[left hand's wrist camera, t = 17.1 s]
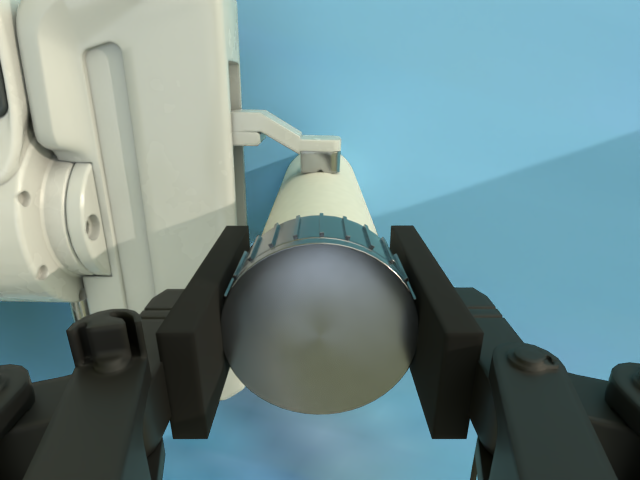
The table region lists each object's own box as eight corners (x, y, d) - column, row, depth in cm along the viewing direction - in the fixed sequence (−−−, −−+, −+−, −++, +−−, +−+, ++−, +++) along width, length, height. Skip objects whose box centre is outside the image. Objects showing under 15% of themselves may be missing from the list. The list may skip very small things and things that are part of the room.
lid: (426, 337, 13) (446, 385, 11) (273, 383, 13) (265, 438, 11) (375, 185, 11) (388, 208, 9) (204, 247, 12) (179, 282, 10)
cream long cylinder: (299, 226, 27) (273, 405, 12) (273, 162, 25) (207, 273, 10) (364, 204, 26) (422, 362, 11) (342, 137, 25) (376, 217, 10)
